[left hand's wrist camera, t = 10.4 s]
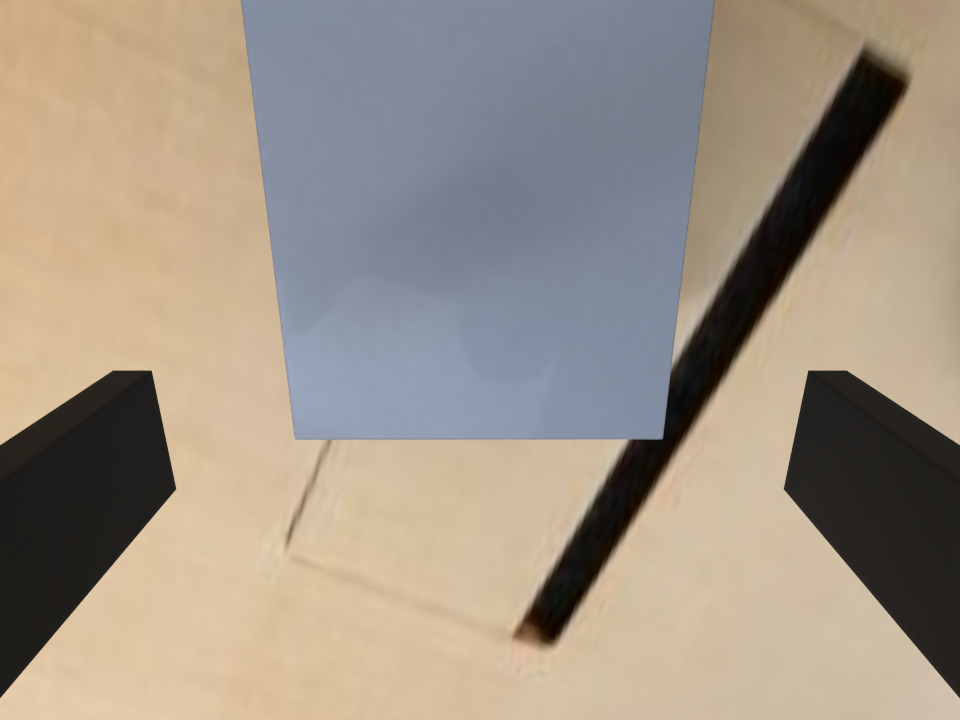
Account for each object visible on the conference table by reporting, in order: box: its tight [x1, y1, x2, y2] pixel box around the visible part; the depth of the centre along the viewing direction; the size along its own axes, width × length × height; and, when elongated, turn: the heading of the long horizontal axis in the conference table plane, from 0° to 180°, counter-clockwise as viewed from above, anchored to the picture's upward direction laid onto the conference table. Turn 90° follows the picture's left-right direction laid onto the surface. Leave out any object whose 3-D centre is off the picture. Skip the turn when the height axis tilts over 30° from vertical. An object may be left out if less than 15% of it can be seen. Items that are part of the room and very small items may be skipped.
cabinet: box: [241, 0, 715, 440], centre depth 20 cm, size 19×11×10 cm, turn 0°
